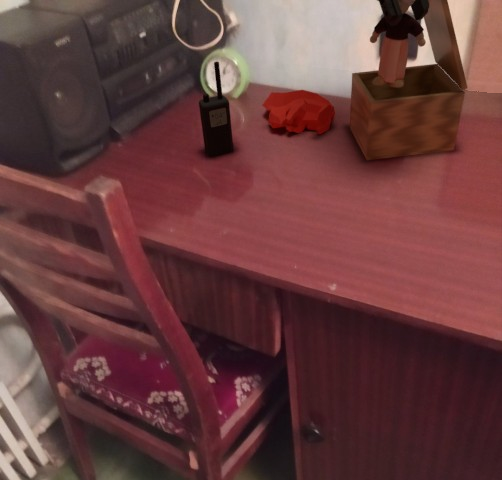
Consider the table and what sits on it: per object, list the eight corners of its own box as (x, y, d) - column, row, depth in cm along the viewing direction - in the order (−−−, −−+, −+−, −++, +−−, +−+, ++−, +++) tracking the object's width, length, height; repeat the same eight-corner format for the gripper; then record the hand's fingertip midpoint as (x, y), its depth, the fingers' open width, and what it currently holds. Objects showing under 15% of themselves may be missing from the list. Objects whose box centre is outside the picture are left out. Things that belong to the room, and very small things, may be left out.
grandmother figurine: (363, 87, 84) (370, -12, 75) (367, 77, 86) (374, -21, 78) (418, 90, 82) (432, -12, 73) (421, 79, 85) (434, -20, 76)
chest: (366, 162, 96) (371, 103, 89) (349, 129, 105) (352, 73, 98) (453, 151, 97) (464, 92, 90) (428, 119, 106) (437, 63, 99)
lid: (438, -10, 80) (474, -30, 78) (410, -32, 89) (442, -50, 87) (462, 90, 90) (494, 74, 88) (435, 62, 99) (464, 46, 97)
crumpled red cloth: (278, 104, 115) (277, 77, 112) (343, 121, 108) (344, 93, 104) (241, 126, 109) (238, 99, 105) (306, 146, 102) (306, 118, 98)
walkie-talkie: (210, 159, 100) (198, 69, 90) (203, 151, 103) (192, 63, 92) (236, 153, 101) (227, 63, 91) (229, 145, 104) (220, 57, 93)
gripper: (399, -92, 82) (439, 25, 82) (309, -77, 78) (351, 46, 79) (427, -138, 74) (471, -9, 75) (329, -123, 71) (376, 12, 71)
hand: (409, 18), depth 77 cm, fingers closed on grandmother figurine, 3 cm apart
